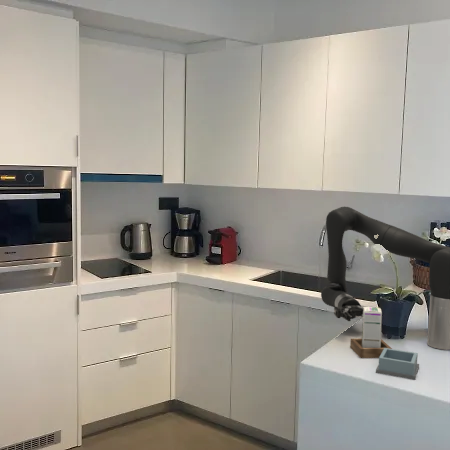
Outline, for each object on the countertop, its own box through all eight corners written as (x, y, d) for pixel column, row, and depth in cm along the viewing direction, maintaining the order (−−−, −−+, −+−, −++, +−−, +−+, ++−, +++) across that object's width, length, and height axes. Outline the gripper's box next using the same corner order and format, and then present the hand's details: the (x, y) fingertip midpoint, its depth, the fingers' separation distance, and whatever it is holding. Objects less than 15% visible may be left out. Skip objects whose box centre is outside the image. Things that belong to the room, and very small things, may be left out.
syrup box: (380, 356, 176) (383, 312, 174) (361, 354, 177) (363, 310, 175) (379, 350, 181) (381, 307, 179) (360, 348, 182) (363, 306, 181)
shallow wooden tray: (379, 347, 184) (380, 338, 184) (391, 357, 174) (392, 348, 174) (350, 347, 183) (350, 338, 183) (360, 358, 173) (360, 349, 173)
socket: (381, 360, 172) (382, 346, 171) (419, 367, 167) (420, 352, 166) (375, 372, 162) (376, 358, 161) (415, 379, 157) (416, 364, 157)
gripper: (328, 295, 202) (342, 307, 186) (366, 295, 204) (382, 307, 188) (328, 315, 203) (341, 329, 187) (365, 315, 204) (381, 329, 188)
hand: (361, 318), depth 187 cm, fingers open, 8 cm apart
